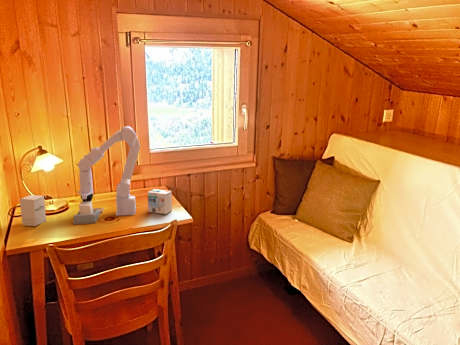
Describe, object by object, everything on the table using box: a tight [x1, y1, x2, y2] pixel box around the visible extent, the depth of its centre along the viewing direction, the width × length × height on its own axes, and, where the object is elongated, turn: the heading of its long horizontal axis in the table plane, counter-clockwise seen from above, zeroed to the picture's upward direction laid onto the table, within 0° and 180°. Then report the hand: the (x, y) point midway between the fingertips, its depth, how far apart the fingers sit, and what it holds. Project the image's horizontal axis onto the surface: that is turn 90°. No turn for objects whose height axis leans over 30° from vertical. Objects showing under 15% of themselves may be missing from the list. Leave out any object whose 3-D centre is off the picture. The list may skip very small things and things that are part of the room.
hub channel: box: [72, 209, 101, 225], centre depth 177 cm, size 10×14×4 cm
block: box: [78, 200, 94, 215], centre depth 179 cm, size 5×5×6 cm
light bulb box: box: [147, 188, 173, 215], centre depth 189 cm, size 11×7×11 cm, turn 70°
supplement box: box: [19, 194, 47, 227], centre depth 170 cm, size 7×7×13 cm
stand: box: [92, 207, 105, 214], centre depth 189 cm, size 6×6×1 cm
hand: (87, 209), depth 182 cm, fingers closed, pressing on block
